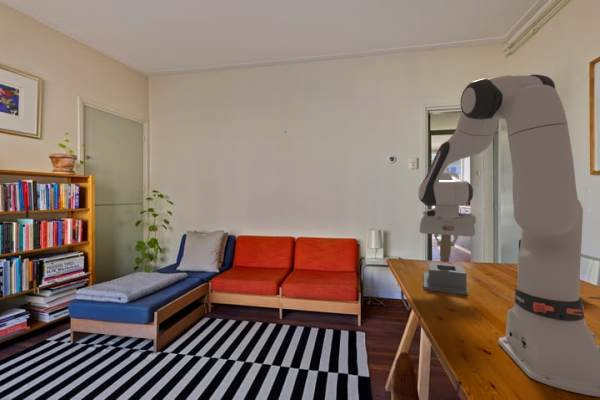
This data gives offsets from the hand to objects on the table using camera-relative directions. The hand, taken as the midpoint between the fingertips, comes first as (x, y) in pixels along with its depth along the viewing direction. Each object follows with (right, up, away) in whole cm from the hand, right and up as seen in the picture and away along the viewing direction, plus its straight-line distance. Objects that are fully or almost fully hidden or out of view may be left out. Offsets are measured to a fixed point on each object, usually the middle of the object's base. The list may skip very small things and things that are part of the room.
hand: (445, 245), depth 116 cm
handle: (0, -7, 0) cm, 7 cm away
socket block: (0, -16, +2) cm, 16 cm away
